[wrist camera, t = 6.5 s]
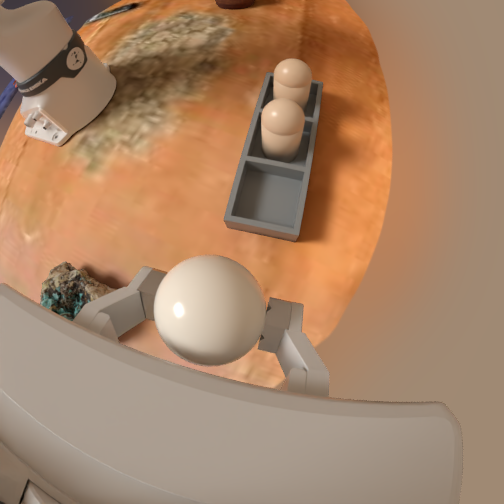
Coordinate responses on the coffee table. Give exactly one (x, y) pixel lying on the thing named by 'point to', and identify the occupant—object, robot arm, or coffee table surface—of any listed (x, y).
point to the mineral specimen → (70, 290)
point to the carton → (277, 155)
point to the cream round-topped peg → (209, 310)
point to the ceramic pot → (234, 4)
